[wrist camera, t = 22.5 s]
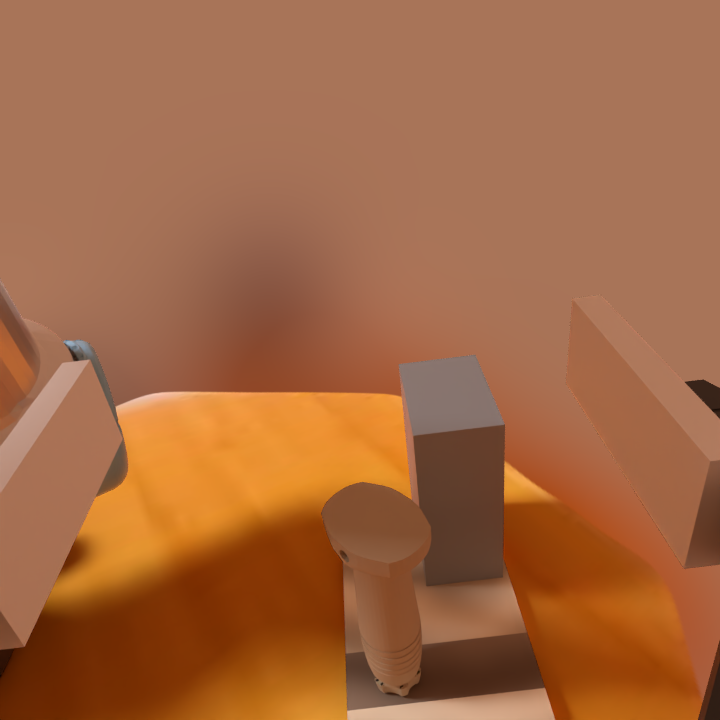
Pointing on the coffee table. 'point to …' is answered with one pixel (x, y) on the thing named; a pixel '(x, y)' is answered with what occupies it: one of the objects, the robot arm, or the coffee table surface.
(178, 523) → the coffee table surface
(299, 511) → the coffee table surface
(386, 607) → the handle
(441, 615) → the subfloor panel
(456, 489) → the tall rectangular block
